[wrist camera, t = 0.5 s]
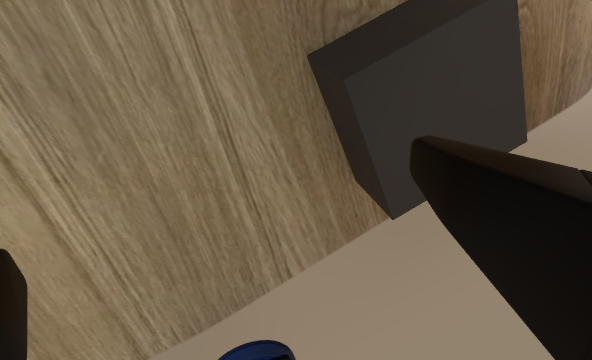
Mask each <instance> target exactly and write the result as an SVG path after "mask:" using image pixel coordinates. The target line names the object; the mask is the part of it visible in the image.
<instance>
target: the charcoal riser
mask: <svg viewBox="0 0 592 360" xmlns="http://www.w3.org/2000/svg"><path fill="white" fill-rule="evenodd" d="M307 58H308V60H309V63H310V65H311V68H312V70H313V73H314V75H315V78H316V80H317V83H318V85H319V88H320V90H321V93H322V96H323V98H324V101H325V103H326V106H327V108H328V111H329V113H330V116H331V118H332V121H333V123H334V126H335V128H336V131H337V134H338V136H339V139H340V141H341V144H342V146H343V149H344V151H345V154H346V156H347V159H348V161H349V164H350V166H351V169H352V172H353V174H354V177H355V179H356V182H357V183H358V184H359V185H360V186H361V187H362V188H363V189H364V190H365V191H366V192H367V193H368V194H369V195H370V196H371V198H372V199H373V200H374V201H375V202H376V203H377V204H378V205H379V206H380V207H381V208H382V209H383V210H384V211H385V212H386V213H387V215H388V216H389V217H390V218H391V219H392V220H394V219H396V218H398V217H399V216H401V215H403V214H404V213H406V212H408V211H409V210H411V209H413V208H415V207H416V206H418V205H420V204H421V203H423V202H425V201H426V198H425V197H424V195H423V194H422V192H421V191H420V189H419V188H418V186H417V184H416V183H415V181H414V180H413V178H412V177H411V174H410V170H409V164H410V152H411V143H412V141H413V140H414V139H415V138H419V137H422V136H426V135H432V136H436V137H440V138H445V139H449V140H454V141H458V142H463V143H467V144H471V145H476V146H480V147H485V148H489V149H493V150H498V151H502V152H507V153H508V152H510V151H512V150H513V149H515V148H517V147H518V146H520V145H522V144H524V143H525V142H527V131H526V117H525V102H524V88H523V74H522V60H521V46H520V32H519V18H518V4H517V0H408V1H406V2H404V3H403V4H401V5H399V6H397V7H395V8H393V9H392V10H390V11H388V12H386V13H384V14H382V15H381V16H379V17H377V18H375V19H373V20H371V21H370V22H368V23H366V24H364V25H362V26H361V27H359V28H357V29H355V30H353V31H351V32H350V33H348V34H346V35H344V36H342V37H340V38H339V39H337V40H335V41H333V42H331V43H329V44H328V45H326V46H324V47H322V48H320V49H318V50H317V51H315V52H313V53H311V54H309V55H308V56H307Z"/></svg>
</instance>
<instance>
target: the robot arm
mask: <svg viewBox="0 0 592 360" xmlns="http://www.w3.org/2000/svg"><path fill="white" fill-rule="evenodd" d="M409 170H410V174H411V177H412V178H413V180H414V181H415V183H416V184H417V186H418V188H419V189H420V191H421V192H422V194H423V195H424V197H425V198H426V200H427V201H428V203H429V204H430V205H431V207H432V209H433V210H434V212H435V213H436V215H437V216H438V218H439V219H440V221H441V222H442V223H443V225H444V226H445V227H446V228H447V230H448V231H449V232H450V233H451V235H452V236H453V237H454V238H455V239H456V241H457V242H458V243H459V244H460V245H461V247H462V248H463V249H464V250H465V252H466V253H467V254H468V255H469V256H470V258H471V259H472V260H473V261H474V262H475V264H476V265H477V266H478V267H479V268H480V270H481V271H482V272H483V273H484V275H485V276H486V277H487V278H488V279H489V280H490V282H491V283H492V284H493V285H494V287H495V288H496V289H497V290H498V291H499V292H500V294H501V295H502V296H503V297H504V299H505V300H506V301H507V302H508V304H509V305H510V306H511V307H512V308H513V309H514V311H515V312H516V313H517V314H518V316H519V317H520V318H521V319H522V320H523V321H524V323H525V324H526V325H527V326H528V328H529V329H530V330H531V331H532V333H533V334H534V335H535V336H536V337H537V338H538V340H539V341H540V342H541V343H542V345H543V346H544V347H545V348H546V349H547V351H548V352H549V353H550V354H551V356H552V357H553V358H554V359H555V360H592V172H591V171H586V170H578V169H577V168H573V167H568V166H564V165H560V164H555V163H551V162H546V161H542V160H537V159H533V158H529V157H524V156H520V155H516V154H511V153H507V152H502V151H498V150H493V149H489V148H485V147H480V146H476V145H471V144H467V143H463V142H458V141H454V140H449V139H445V138H440V137H436V136H432V135H426V136H422V137H419V138H415V139H414V140H413V141H412V143H411V152H410V164H409ZM0 360H27V283H26V280H25V278H24V276H23V274H22V273H21V271H20V270H19V268H18V266H17V265H16V263H15V262H14V260H13V258H12V257H11V255H10V254H9V253H8V252H7V251H6V250H4V249H0ZM269 360H291V358H290V355H289V354H284V355H281V356H278V357H275V358H272V359H269Z"/></svg>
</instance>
